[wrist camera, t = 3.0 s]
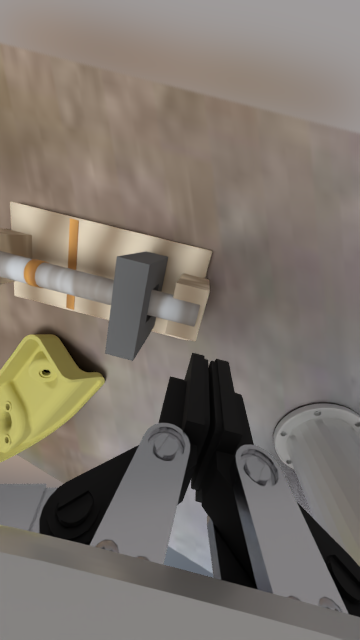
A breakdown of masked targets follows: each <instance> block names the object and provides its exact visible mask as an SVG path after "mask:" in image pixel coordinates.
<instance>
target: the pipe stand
mask: <svg viewBox="0 0 360 640" xmlns="http://www.w3.org/2000/svg"><path fill="white" fill-rule="evenodd" d="M10 211H11V230H9V229H0V284H5V283H10V282H14V292H15V296H18V297H22V298H26V299H30V300H33V301H37V302H41V303H45V304H49V305H53V306H56V307H60V308H64V309H68V310H72V311H76V312H80V313H83V314H87V315H91V316H95V317H99V318H103V319H106V320H109V318H110V309H111V301H112V292H113V284H114V276H115V267H116V259H117V256H122V255H128V254H134V253H139V252H145V251H147V252H151V253H155V254H159V255H163V256H167V257H168V261H167V266H166V271H165V276H164V281H163V286H162V291H161V292H160V291H156V290H152V291H151V297H150V302H149V307H148V313H147V315H150V316H154V317H156V321H155V326H154V327H153V329H152V331H153V332H156V333H160V334H164V335H168V336H172V337H176V338H179V339H183V340H187V341H188V340H192V341H196V338H197V335H198V331H199V328H200V324H201V321H202V317H203V313H204V310H205V306H206V303H207V299H208V296H209V292H210V285H209V280H208V279H205V276H206V273H207V269H208V265H209V261H210V258H211V254H212V251H211V250H207V249H203V248H199V247H194V246H190V245H186V244H182V243H178V242H174V241H170V240H166V239H162V238H158V237H154V236H150V235H146V234H142V233H138V232H134V231H130V230H126V229H122V228H118V227H113V226H109V225H105V224H101V223H97V222H93V221H89V220H85V219H81V218H77V217H73V216H69V215H65V214H61V213H57V212H53V211H49V210H45V209H41V208H37V207H33V206H28V205H24V204H20V203H15V202H10Z"/></svg>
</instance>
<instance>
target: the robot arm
mask: <svg viewBox="0 0 360 640" xmlns="http://www.w3.org/2000/svg"><path fill="white" fill-rule="evenodd" d="M273 442H274V447H275V450H276V452H277V455H278V456H279V458H280V459H281V461H282V462H283V463H284V464H286V465H287V466H289V467H290V468H292V469H294V470H295V472H296V475H297V478H298V480H299V483H300V485H301V488H302V491H303V493H304V496H305V499H306V501H307V504H308V506H309V509H310V512H311V514H312V517H313V518H312V517H311V516H310V515H309V514H308V513H307V512H306V511H305V510H304V509H303V508H302V507H301V506H300V505H299V504H298V503H297V502H296V499H295V497H294V495H293V493H292V491H291V489H290V486H289V484H288V482H287V480H286V478H285V476H284V474H283V471H282V469H281V467H280V466H279V464H278V462H277V461H276V460H275V459H274V458H273V457H272V455H270V454H269V453H268V452H267V451H265V450H264V449H262V448H260V447H258V446H255V445H254V444H253V440H252V435H251V431H250V427H249V423H248V419H247V415H246V410H245V406H244V402H243V398H242V395H240V394H237V393H235V392H234V387H233V382H232V377H231V372H230V367H229V362H227V361H223V360H219V359H216V360H215V362H214V361H211V362H210V365H209V368H208V360H206V359H204V356H203V355H199V354H195V353H192V356H191V359H190V363H189V366H188V370H187V373H186V377H185V380H182V379H178V378H174V377H170V379H169V383H168V387H167V391H166V395H165V399H164V403H163V407H162V411H161V415H160V419H159V423H158V424H155V425H153V426H151V427H150V428H149V429H148V430H147V431H146V433H145V434H144V436H143V438H142V440H141V442H140V444H139V445H138V446H136V447H134V448H132V449H130V450H128V451H126V452H124V453H122V454H121V455H119V456H117V457H115V458H113V459H111V460H109V461H107V462H105V463H103V464H101V465H99V466H97V467H95V468H93V469H91V470H89V471H87V472H85V473H83V474H81V475H79V476H77V477H76V478H74V479H72V480H70V481H68V482H66V483H65V484H63V485H62V486H60V487H59V488H46V484H0V640H360V416H359V415H358V414H356V413H355V412H354V411H352V410H350V409H348V408H346V407H343V406H340V405H336V404H327V403H323V404H313V405H307V406H304V407H301V408H298V409H296V410H294V411H292V412H291V413H289V414H288V415H287V416H285V417H284V418H283V419H282V420H281V421H280V422H279V424H278V425H277V427H276V429H275V432H274V435H273ZM190 480H191V488H192V489H195V490H196V500H195V501H197V502H201V503H202V507H203V508H204V510H205V511H206V513H207V514H208V516H207V529H208V537H209V545H210V553H211V561H212V569H213V577H214V578H212V577H208V576H204V575H201V574H197V573H193V572H189V571H186V570H181V569H178V568H174V567H170V566H166V565H163V564H164V560H165V555H166V551H167V547H168V543H169V538H170V534H171V530H172V525H173V521H174V517H175V513H176V508H177V505H178V504H179V503H181V502H182V501H183V499H184V496H185V493H186V491H187V488H188V485H189V483H190Z"/></svg>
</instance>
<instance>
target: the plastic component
mask: <svg viewBox="0 0 360 640" xmlns="http://www.w3.org/2000/svg"><path fill="white" fill-rule="evenodd" d="M43 370H49V371H50V373H46V372H44V371H43ZM104 382H105V379H104V378H103V376H102V375H101V374H100V373H98V372H84V371H82V370H81V369H79V368H78V366H77V365H76V364H75V362H74V360H73V359H72V357H71V356H70V354H69V353H68V351H67V350H66V348H65V347H64V345H63V344H62V342H61V340H60V339H59V338H58V337H57V336H55V335H52V334H37V335H28V336H26V337H25V338H24V339H23V340H22V341H21V343H20V344H19V346H18V347H17V348H16V350H15V351H14V352H13V354H12V355H11V357H10V358H9V359H8V361H7V362H6V363H5V365H4V366H3V368H2V369H1V370H0V462H2V461H4V460H6V459H8V458H10V457H12V456H14V455H16V454H18V453H20V452H22V451H23V450H25V449H27V448H29V447H30V446H32V445H34V444H35V443H37V442H38V441H40V440H42V439H43V438H45V437H46V436H48V435H49V434H51V433H52V432H54V431H55V430H56V429H58V428H59V427H60V426H62V425H63V424H64V423H66V422H67V421H68V420H69V419H70V418H71V417H73V416H74V415H75V414H76V413H77V412H78V411H79V410H80V409H81V408H82V406H83V405H84V404H85V403H86V402H87V401H88V400H89V399H90V398H91V397H92V396H93V395H94V394H95V393H96V392H97V391H98V389H99V388H100V387H101V386H102V385H103V384H104Z"/></svg>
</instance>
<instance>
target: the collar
mask: <svg viewBox="0 0 360 640" xmlns="http://www.w3.org/2000/svg"><path fill="white" fill-rule="evenodd" d="M167 261H168V257H167V256H163V255H159V254H155V253H151V252H147V251H145V252H139V253H134V254H128V255H122V256H117V259H116V267H115V276H114V284H113V292H112V301H111V309H110V318H109V326H108V335H107V343H106V351H105V354H109V355H113V356H117V357H121V358H124V359H128V360H132V361H133V360H134V358H135V357H136V355H137V353H138V352H139V350H140V349H141V347H142V345H143V344H144V342H145V340H146V339H147V337H148V336H149V334H150V332H151V331H152V329H153V327H154V326H155V321H156V317H154V316H150V315H147V313H148V307H149V302H150V297H151V291H152V290H156V291H160V292H161V291H162V286H163V281H164V276H165V271H166V266H167Z"/></svg>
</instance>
